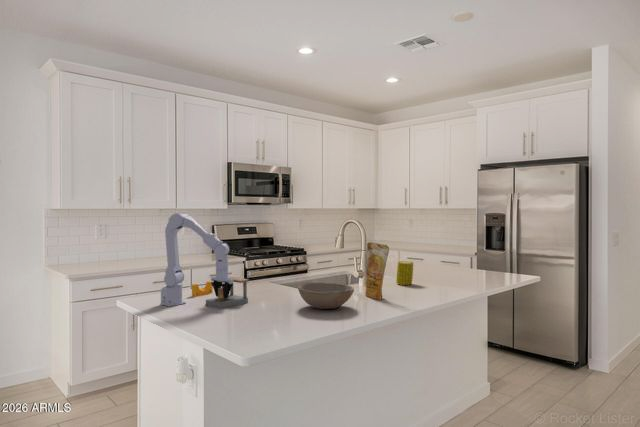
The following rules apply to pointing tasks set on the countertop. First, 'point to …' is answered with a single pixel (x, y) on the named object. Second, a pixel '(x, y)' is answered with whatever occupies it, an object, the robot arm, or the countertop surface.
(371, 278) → the pancake mix bag
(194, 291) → the pipe clamp
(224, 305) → the socket plate
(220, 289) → the peg
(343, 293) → the bowl
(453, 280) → the countertop surface
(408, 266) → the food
